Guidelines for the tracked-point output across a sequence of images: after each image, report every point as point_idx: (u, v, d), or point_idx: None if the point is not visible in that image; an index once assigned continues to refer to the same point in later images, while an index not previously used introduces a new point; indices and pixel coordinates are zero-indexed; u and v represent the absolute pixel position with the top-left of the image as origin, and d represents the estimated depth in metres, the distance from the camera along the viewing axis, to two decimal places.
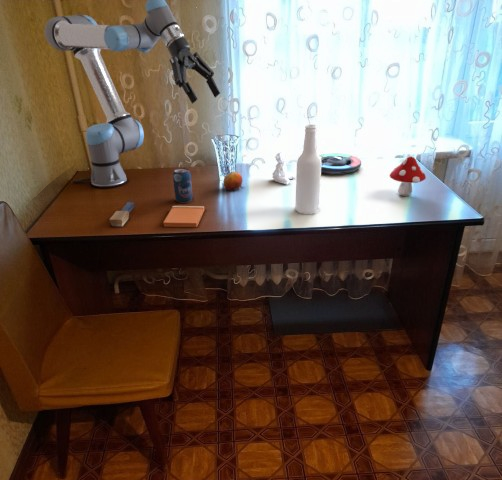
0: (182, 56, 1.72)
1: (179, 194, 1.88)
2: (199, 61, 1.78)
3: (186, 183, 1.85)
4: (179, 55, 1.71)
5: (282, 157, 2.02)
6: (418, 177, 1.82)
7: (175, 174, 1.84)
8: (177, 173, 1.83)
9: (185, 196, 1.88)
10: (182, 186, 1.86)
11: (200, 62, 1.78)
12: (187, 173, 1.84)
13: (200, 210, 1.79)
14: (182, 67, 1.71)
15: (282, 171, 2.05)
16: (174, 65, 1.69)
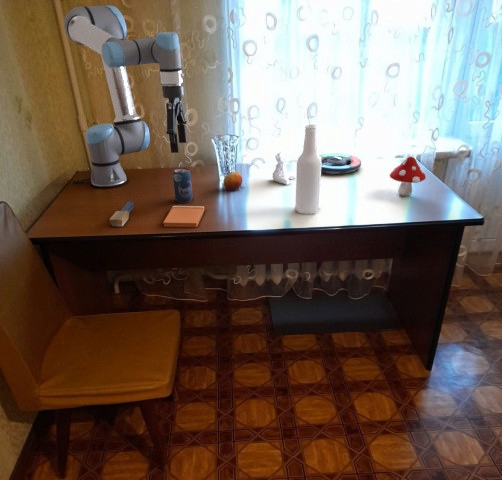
0: (175, 103, 1.69)
1: (179, 194, 1.88)
2: None
3: (186, 183, 1.85)
4: (174, 102, 1.68)
5: (282, 157, 2.02)
6: (418, 177, 1.82)
7: (175, 174, 1.84)
8: (177, 173, 1.83)
9: (185, 196, 1.88)
10: (182, 186, 1.86)
11: None
12: (187, 173, 1.84)
13: (200, 210, 1.79)
14: (174, 115, 1.70)
15: (282, 171, 2.05)
16: (170, 113, 1.66)
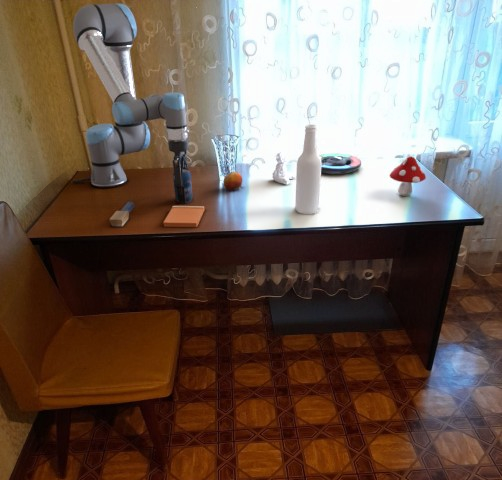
0: (181, 156, 1.80)
1: None
2: None
3: (186, 183, 1.85)
4: (180, 155, 1.79)
5: (282, 157, 2.02)
6: (418, 177, 1.82)
7: None
8: None
9: (185, 196, 1.88)
10: None
11: None
12: (187, 173, 1.84)
13: (200, 210, 1.79)
14: None
15: (282, 171, 2.05)
16: (177, 169, 1.79)
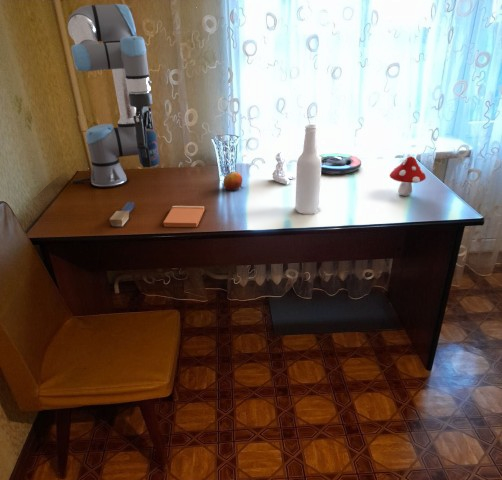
0: (144, 112, 1.58)
1: None
2: None
3: (151, 143, 1.63)
4: (142, 111, 1.57)
5: (282, 157, 2.02)
6: (418, 177, 1.82)
7: None
8: None
9: (150, 159, 1.66)
10: None
11: None
12: (152, 132, 1.63)
13: (200, 210, 1.79)
14: (143, 126, 1.60)
15: (282, 171, 2.05)
16: (139, 126, 1.57)
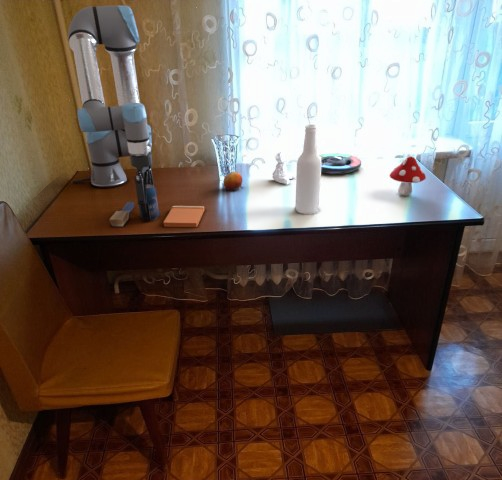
0: (144, 171, 1.67)
1: None
2: (149, 174, 1.74)
3: (150, 199, 1.72)
4: (143, 171, 1.65)
5: (282, 157, 2.02)
6: (418, 177, 1.82)
7: None
8: None
9: (150, 214, 1.74)
10: None
11: None
12: (151, 189, 1.71)
13: (200, 210, 1.79)
14: (143, 185, 1.68)
15: (282, 171, 2.05)
16: (139, 185, 1.65)
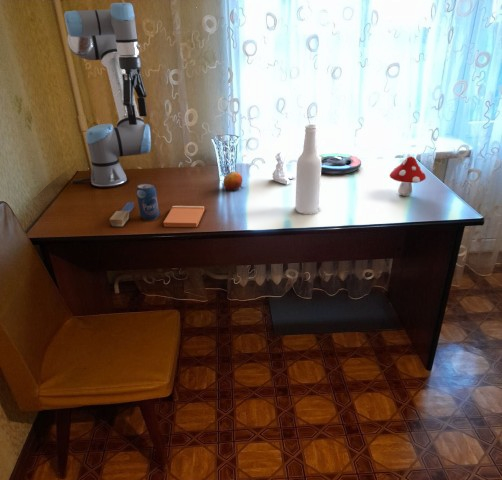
0: (132, 74, 1.71)
1: (143, 211, 1.74)
2: (139, 78, 1.79)
3: (150, 199, 1.72)
4: (131, 73, 1.69)
5: (282, 157, 2.02)
6: (418, 177, 1.82)
7: (138, 190, 1.70)
8: (140, 189, 1.70)
9: (150, 214, 1.74)
10: (146, 203, 1.72)
11: None
12: (151, 189, 1.71)
13: (200, 210, 1.79)
14: (131, 86, 1.71)
15: (282, 171, 2.05)
16: (127, 84, 1.68)
